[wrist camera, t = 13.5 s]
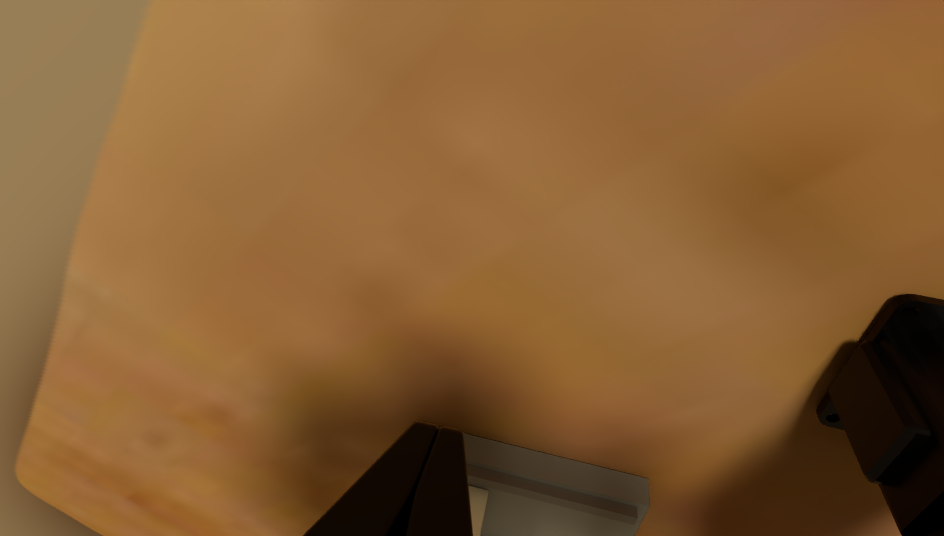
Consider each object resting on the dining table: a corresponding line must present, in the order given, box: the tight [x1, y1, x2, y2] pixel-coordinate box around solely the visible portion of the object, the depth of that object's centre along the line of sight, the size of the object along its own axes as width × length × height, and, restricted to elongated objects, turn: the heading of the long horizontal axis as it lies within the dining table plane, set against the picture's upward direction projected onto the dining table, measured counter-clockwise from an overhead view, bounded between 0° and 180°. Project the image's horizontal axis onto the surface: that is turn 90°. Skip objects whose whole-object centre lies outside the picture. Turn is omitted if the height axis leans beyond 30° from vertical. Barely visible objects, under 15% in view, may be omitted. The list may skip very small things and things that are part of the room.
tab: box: [469, 486, 489, 536], centre depth 28 cm, size 3×4×4 cm
